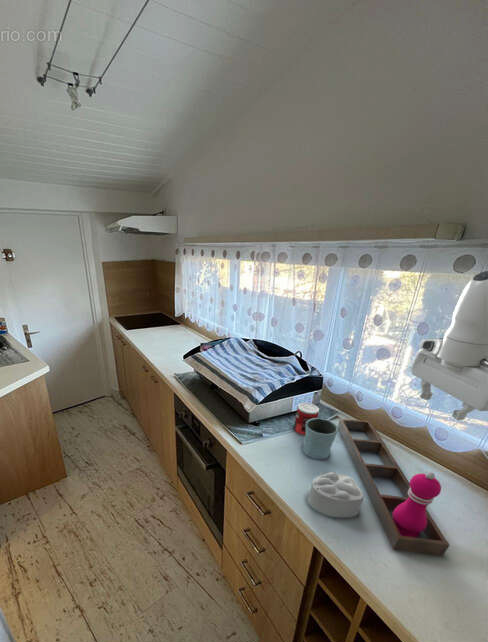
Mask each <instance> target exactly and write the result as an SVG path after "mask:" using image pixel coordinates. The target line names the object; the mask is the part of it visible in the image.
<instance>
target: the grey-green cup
mask: <svg viewBox="0 0 488 642" xmlns="http://www.w3.org/2000/svg"><path fill="white" fill-rule="evenodd" d="M338 432H339V429H338V425H337V424H336V423H334V422H333V421H331V420H329V419H326V418H322V417H318V418H312V419H310V420H308V421H307V422H306V432H305V433H306V435H304V439H303V448H302V451H303V453H304V454H305V455H306V456H308V457H310V458H312V459H315V460H324V459H327V458H328V457H329V456H330V454H331V453H330V452H331V448H332V446H333V444H334V442H335V438H336V435H337V433H338Z"/></svg>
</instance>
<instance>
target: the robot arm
mask: <svg viewBox="0 0 488 642" xmlns="http://www.w3.org/2000/svg"><path fill="white" fill-rule="evenodd" d="M419 348H420V349H419V350H418V351H416V354H415V355H414V359H413V361H412V364H411V366H410V370H411V371H410V372H411V375H413V376H415V377H416V378H418V379H420V383H419V384H420V390H421V392H420V394H419V397H420V398H421V399H423V400H424V401H430V400H431V399H432V397H433V395H434V393H433V392H432V390H431V389H432V388H431V386H433V387H435V388H437V389H438V390H440V391H442V392H443V393H446V394H447V395H449V396H451V397H453V398H455V399H457V400H458V401H460V402H462V403H461V407H462V408H461V409H454V410H453V412H452V414H451V417H452V418H453V419H455V420H457V421H464V420H465V419H466V417H467V415H468V414H469V413H471V412H474V411H475V410H477V411H480V412H488V270H485V271H482V272H479V273H476V274H475V275H474V276H473V277H472V278H471V279H470V280H469V281H468V283H467V284H466V285H465V287H464V289H463V291H462V292H461V294H460V296H459V298H458V301H457V303H456V305H455V307H454V310H453V313H452V320H451V324H450V326H449V328H447V330H446V332H445V333H444V335H443V337H440V338H426V339H425V338H424V339H422V340H421V341H420V343H419Z"/></svg>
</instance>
